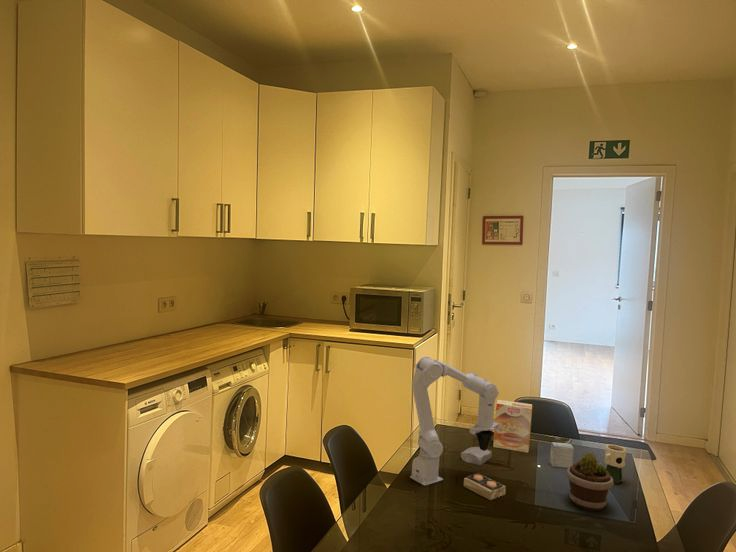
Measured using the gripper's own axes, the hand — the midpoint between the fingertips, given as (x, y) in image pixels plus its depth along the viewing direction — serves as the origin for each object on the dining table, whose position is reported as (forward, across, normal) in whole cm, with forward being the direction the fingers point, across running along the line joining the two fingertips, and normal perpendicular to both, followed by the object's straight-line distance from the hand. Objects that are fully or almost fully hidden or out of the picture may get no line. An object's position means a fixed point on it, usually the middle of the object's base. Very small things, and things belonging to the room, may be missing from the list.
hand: (483, 449), depth 197 cm
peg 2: (+9, -9, -12) cm, 18 cm away
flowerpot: (+10, +15, -34) cm, 39 cm away
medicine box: (+10, +37, -10) cm, 40 cm away
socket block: (+10, -9, -9) cm, 16 cm away
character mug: (+10, +42, -29) cm, 52 cm away
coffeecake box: (+10, +35, +13) cm, 39 cm away
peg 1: (+9, -9, -6) cm, 14 cm away
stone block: (+10, +11, +12) cm, 20 cm away
